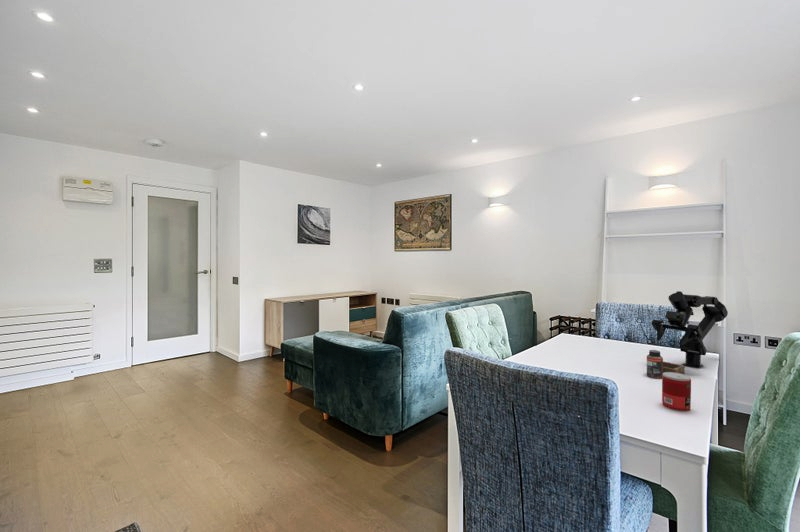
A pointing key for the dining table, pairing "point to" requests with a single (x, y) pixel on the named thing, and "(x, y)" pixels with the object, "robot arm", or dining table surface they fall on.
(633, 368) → the dining table surface
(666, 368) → the walnut socket holder
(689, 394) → the canned food
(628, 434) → the dining table surface
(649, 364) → the supplement bottle
